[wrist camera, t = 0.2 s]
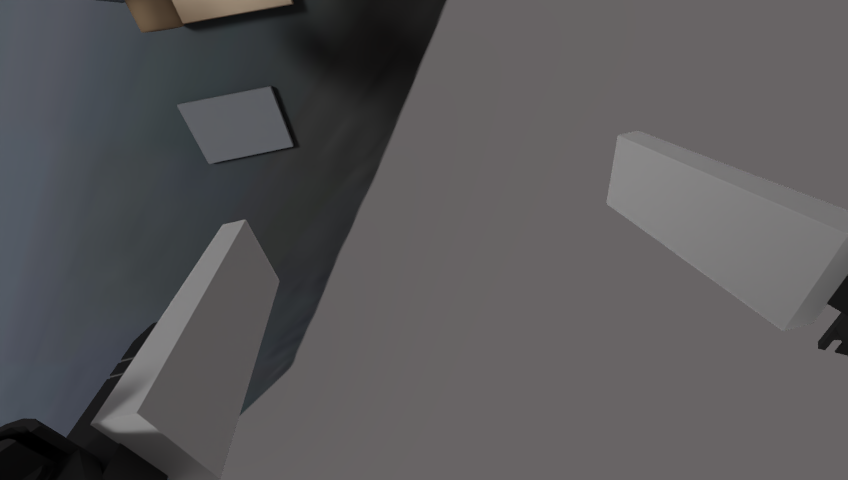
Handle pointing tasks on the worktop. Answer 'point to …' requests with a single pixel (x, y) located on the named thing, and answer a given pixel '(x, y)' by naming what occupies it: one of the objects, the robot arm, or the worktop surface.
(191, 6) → the stand
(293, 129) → the worktop surface
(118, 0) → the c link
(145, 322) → the worktop surface
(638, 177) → the robot arm
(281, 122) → the pad
